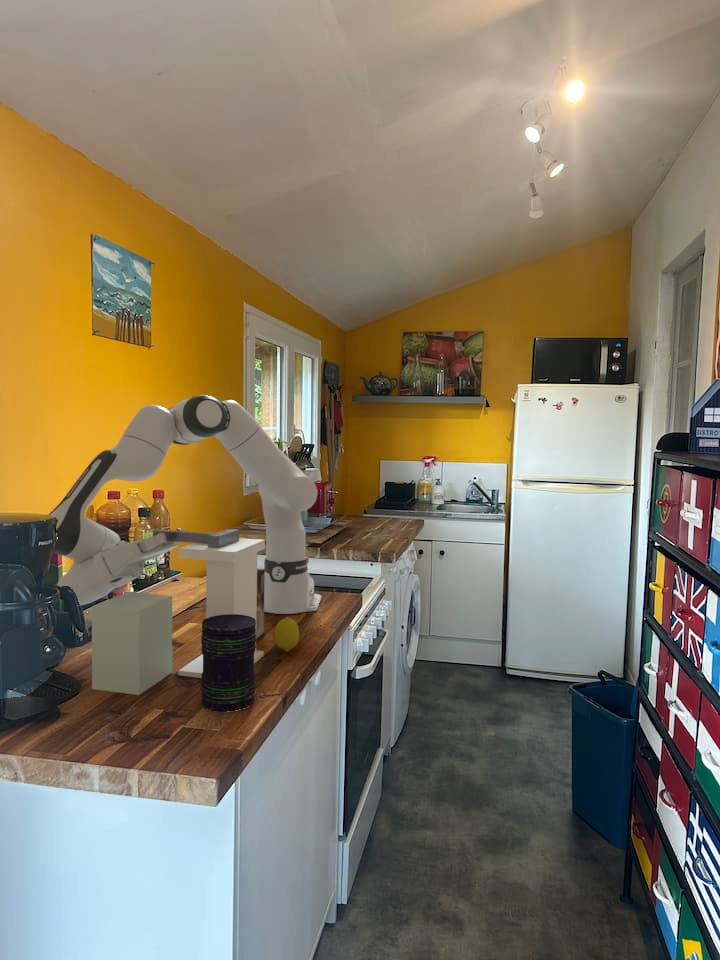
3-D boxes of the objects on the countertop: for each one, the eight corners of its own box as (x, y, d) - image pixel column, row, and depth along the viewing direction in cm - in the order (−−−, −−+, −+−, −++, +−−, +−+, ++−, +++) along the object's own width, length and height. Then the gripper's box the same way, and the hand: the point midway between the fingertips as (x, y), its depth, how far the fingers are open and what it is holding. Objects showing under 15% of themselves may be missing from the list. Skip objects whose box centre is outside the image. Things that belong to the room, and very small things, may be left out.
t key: (167, 536, 144) (167, 525, 144) (239, 540, 140) (239, 529, 140) (142, 542, 134) (142, 531, 134) (218, 548, 131) (219, 536, 130)
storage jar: (208, 690, 124) (209, 613, 123) (259, 691, 124) (260, 614, 123) (193, 712, 114) (194, 628, 113) (249, 714, 114) (250, 630, 113)
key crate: (128, 667, 135) (128, 591, 134) (172, 672, 132) (172, 595, 131) (92, 689, 123) (91, 606, 122) (139, 695, 121) (139, 610, 120)
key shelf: (213, 650, 147) (214, 536, 145) (263, 655, 144) (265, 539, 142) (178, 675, 131) (179, 548, 129) (233, 681, 128) (234, 552, 127)
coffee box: (240, 630, 162) (241, 567, 161) (264, 632, 160) (265, 568, 159) (225, 642, 153) (226, 574, 152) (251, 644, 152) (252, 576, 150)
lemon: (279, 657, 143) (280, 621, 143) (271, 649, 148) (271, 615, 148) (302, 653, 146) (303, 619, 145) (293, 646, 151) (294, 612, 150)
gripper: (155, 565, 151) (202, 539, 148) (101, 585, 132) (154, 555, 128) (143, 542, 152) (190, 515, 149) (87, 557, 132) (140, 526, 129)
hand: (173, 533), depth 138 cm, fingers open, 6 cm apart
